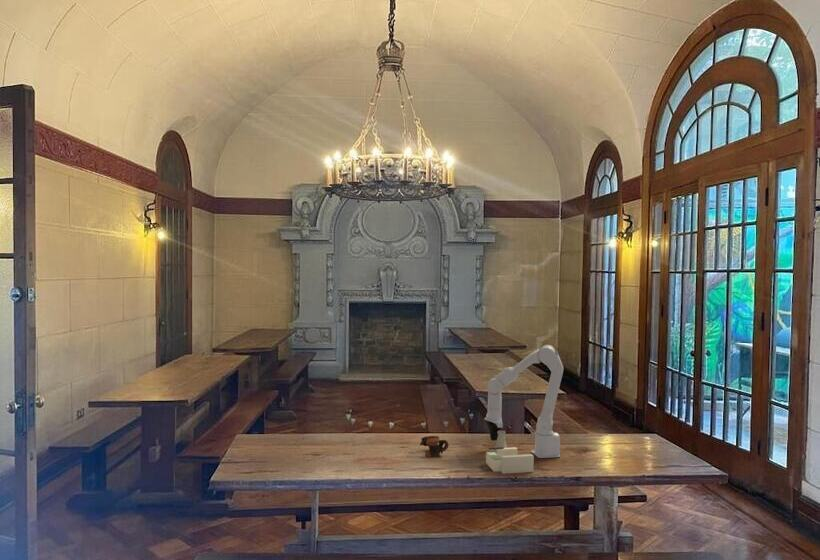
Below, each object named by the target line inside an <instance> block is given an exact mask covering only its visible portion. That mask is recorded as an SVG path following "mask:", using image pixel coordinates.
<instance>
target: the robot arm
mask: <svg viewBox="0 0 820 560" xmlns="http://www.w3.org/2000/svg"><path fill="white" fill-rule="evenodd" d="M540 363H543V364H544V365H545V366H547V368H548V370H550V372H551V373H550V376H549V380H548V384H547V389H546V393H545V397H544V402H543V405H542V410H541V413H540V415H539V416H538V417H537V422H536V426H535V428H536V429H535V433H534V436H535V438H534V450H530V452H531V454H532V455H533V456H536V457H537V458H538V459H547V458H548V459H550V458H560V457H561V453H560V452H561V437H560V435H559V433H558V432H557V431H556V432H554V431H553V425H554V420H553V419H554V418H553V416H554V411H555V407H556V403H557V399H558V394H559V391H560V388H561V387H560V386H561V382H562V378H563V375H564V374H563V373H564V364H563V362H562V360H561V358H560V354H559V352H558V351H557V349H555V347H554V346H553V345H551V344H544V345H543V346H541V347H540V348H537V349H536V350H535V351H533V352H531V353H530V354H528V355H527V356H525V358H523V359H522V360H521V361H519V363H517V364H516V365H514V366H507V367H504V368H503V369H502V371H501V372H500V373H498V374H495V375H494V376H493V377H492V378H491V379H490V380H489V381H488V383H487V385H486V386H487V391H488V392H487V413H486V415H485V417H484V420H485V421H486V426H487V428H488V431H489V436H490V440H491V441H492V442H494V441H496V442H497V439H498V433H497V431H501V429H502V428H504V423H503V419H502V418H503V417H502V411H503V410H502V407H503V405H502V403H503V396H502V389H503V388H506V387H508V386H509V385H510V384H511V383H513V382H514V381H516V380H517V379H518V376H519V375H518V374H520V373H521V372H522V371H524V370H526V369H527V368H528V367H530V366H531V365H533V364H540Z"/></svg>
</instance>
